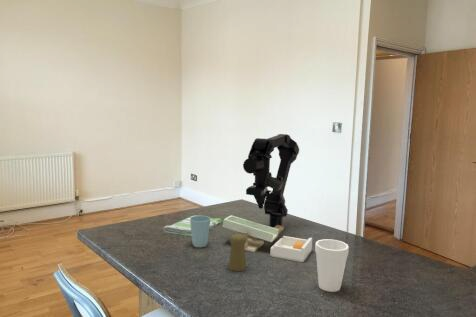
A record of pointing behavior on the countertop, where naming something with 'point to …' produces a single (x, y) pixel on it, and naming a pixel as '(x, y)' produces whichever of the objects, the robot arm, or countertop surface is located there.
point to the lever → (252, 228)
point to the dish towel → (188, 226)
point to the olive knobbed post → (237, 253)
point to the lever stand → (252, 243)
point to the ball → (298, 245)
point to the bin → (291, 249)
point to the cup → (200, 230)
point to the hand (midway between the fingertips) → (260, 208)
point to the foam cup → (331, 263)
